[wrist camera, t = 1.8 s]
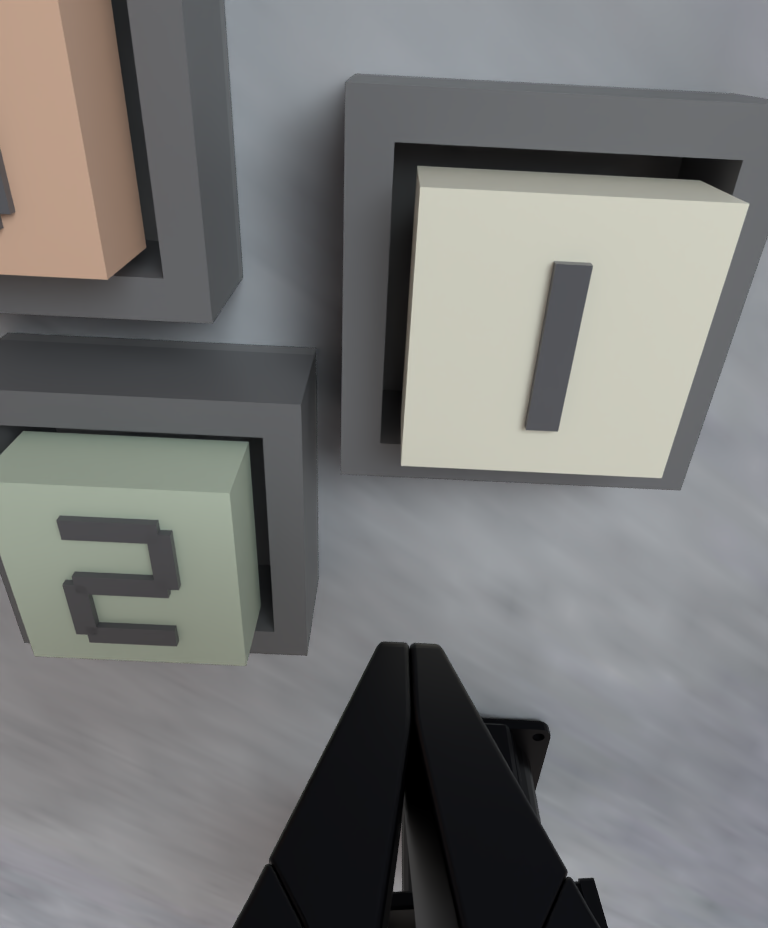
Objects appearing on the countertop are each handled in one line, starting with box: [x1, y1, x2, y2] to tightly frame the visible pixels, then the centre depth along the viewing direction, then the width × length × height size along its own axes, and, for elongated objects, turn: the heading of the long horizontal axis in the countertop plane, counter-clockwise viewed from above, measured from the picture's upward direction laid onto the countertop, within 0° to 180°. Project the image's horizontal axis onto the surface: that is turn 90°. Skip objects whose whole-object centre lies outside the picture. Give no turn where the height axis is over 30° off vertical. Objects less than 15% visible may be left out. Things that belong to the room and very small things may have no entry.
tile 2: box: [0, 431, 261, 666], centre depth 18 cm, size 6×6×3 cm
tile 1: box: [401, 166, 749, 478], centre depth 15 cm, size 6×6×3 cm
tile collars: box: [0, 0, 768, 656], centre depth 18 cm, size 20×21×4 cm
